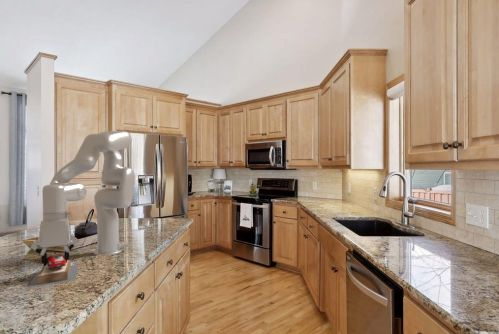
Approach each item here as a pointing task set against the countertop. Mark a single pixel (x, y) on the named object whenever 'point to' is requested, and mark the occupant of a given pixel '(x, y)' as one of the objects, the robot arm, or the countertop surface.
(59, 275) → the tan flat block
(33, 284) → the gray board
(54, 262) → the race car
